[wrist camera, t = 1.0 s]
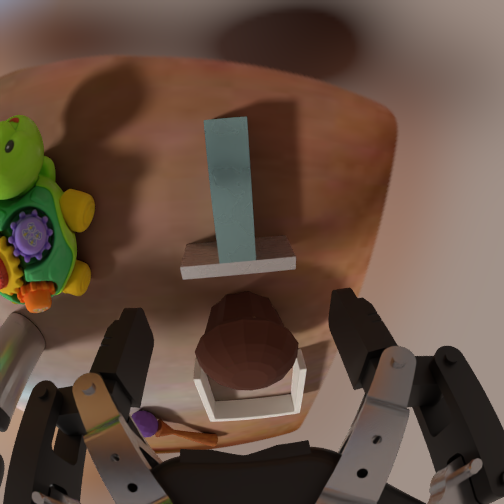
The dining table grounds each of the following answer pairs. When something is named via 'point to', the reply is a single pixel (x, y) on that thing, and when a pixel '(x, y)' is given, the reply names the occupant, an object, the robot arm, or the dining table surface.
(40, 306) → the turtle toy
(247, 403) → the bay
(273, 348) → the muffin
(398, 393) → the robot arm
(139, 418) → the purple ball-ended brown rod
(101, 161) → the dining table surface
